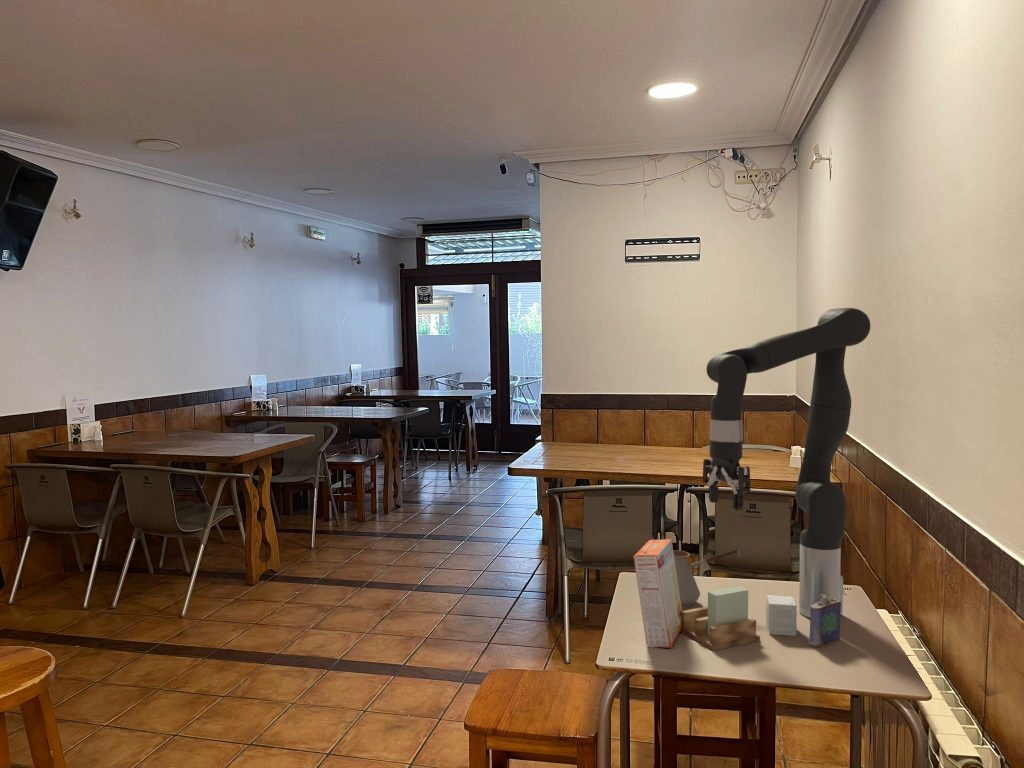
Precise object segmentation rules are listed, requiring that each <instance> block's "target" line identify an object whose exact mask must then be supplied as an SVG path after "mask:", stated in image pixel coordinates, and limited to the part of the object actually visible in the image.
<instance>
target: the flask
mask: <svg viewBox="0 0 1024 768" xmlns="http://www.w3.org/2000/svg"><path fill="white" fill-rule="evenodd" d="M820 595H821V596H822V595H823V596H822V598H821V601H820V602H818V603H815V604H813V605H811V606H810V618H809V646H810V647H813V648H815V649H817V648H823V646H827V645H830V643H831V644H833V643H835V642H834V641H836V642H839V640H840V639H841V638H840V637H841V635H840V634H841V615H840V613H841V601H840V600H837V599H833V598H830V599H827V598H828V597H827V596H826V595H824V594H820ZM820 595H819V596H820Z"/></svg>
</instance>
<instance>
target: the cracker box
mask: <svg viewBox="0 0 1024 768" xmlns="http://www.w3.org/2000/svg"><path fill="white" fill-rule="evenodd" d="M672 541H673V540H672V539H668V538H667V539H649V540H648V541H647V542H645V544H644V545H643V546H642V547H641V548H640V549H639V550H638V551H637V552H636V553H635V554H634V555H633V563H634V567H635V568H634V569H635V576H636V583H637V588H638V596H639V597H638V598H639V602H640V603H639V604H640V609H641V616H642V624H643V631H644V636H645V645H646V646H647V645H648V646H647V647H650V646H654V647H653V648H658V647H661V649H662V648H663V649H664V648H665V649H668V648H669V649H672V647H673V645H674V643H675V641H676V639H677V638H678V636H679V635H680V633H681V627H682V621H681V611H683V610H682V609H683V608H681V601H680V595H679V588H678V581H677V574H676V567H675V560H674V553H673V550H674V548H673V547H674V546H673V542H672Z"/></svg>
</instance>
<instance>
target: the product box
mask: <svg viewBox="0 0 1024 768" xmlns="http://www.w3.org/2000/svg"><path fill="white" fill-rule="evenodd" d="M765 605H766V609H765V610H766V611H765V612H766V614H765V615H766V617H765V623H766V628H767V630H768V631H767V633H768V635H774V636H775V635H777V636H789V637H797V634H798V633H797V616H798V615H797V611H798V610H797V604H796V602H795V599H794V597H793V596H786V595H785V596H783V595H771V594H767V595H766V603H765Z"/></svg>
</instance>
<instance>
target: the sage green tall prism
mask: <svg viewBox="0 0 1024 768" xmlns="http://www.w3.org/2000/svg"><path fill="white" fill-rule="evenodd" d="M707 606H708V636H710V627H713V626H718V625H723V624H728V623H733V622H738V621H743V620H748V619H749V589H747V588H745V587H743V586H740V585H739V586H732V587H727V588H721V589H716V590H711V591H710V590H709V591H708V592H707Z"/></svg>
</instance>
